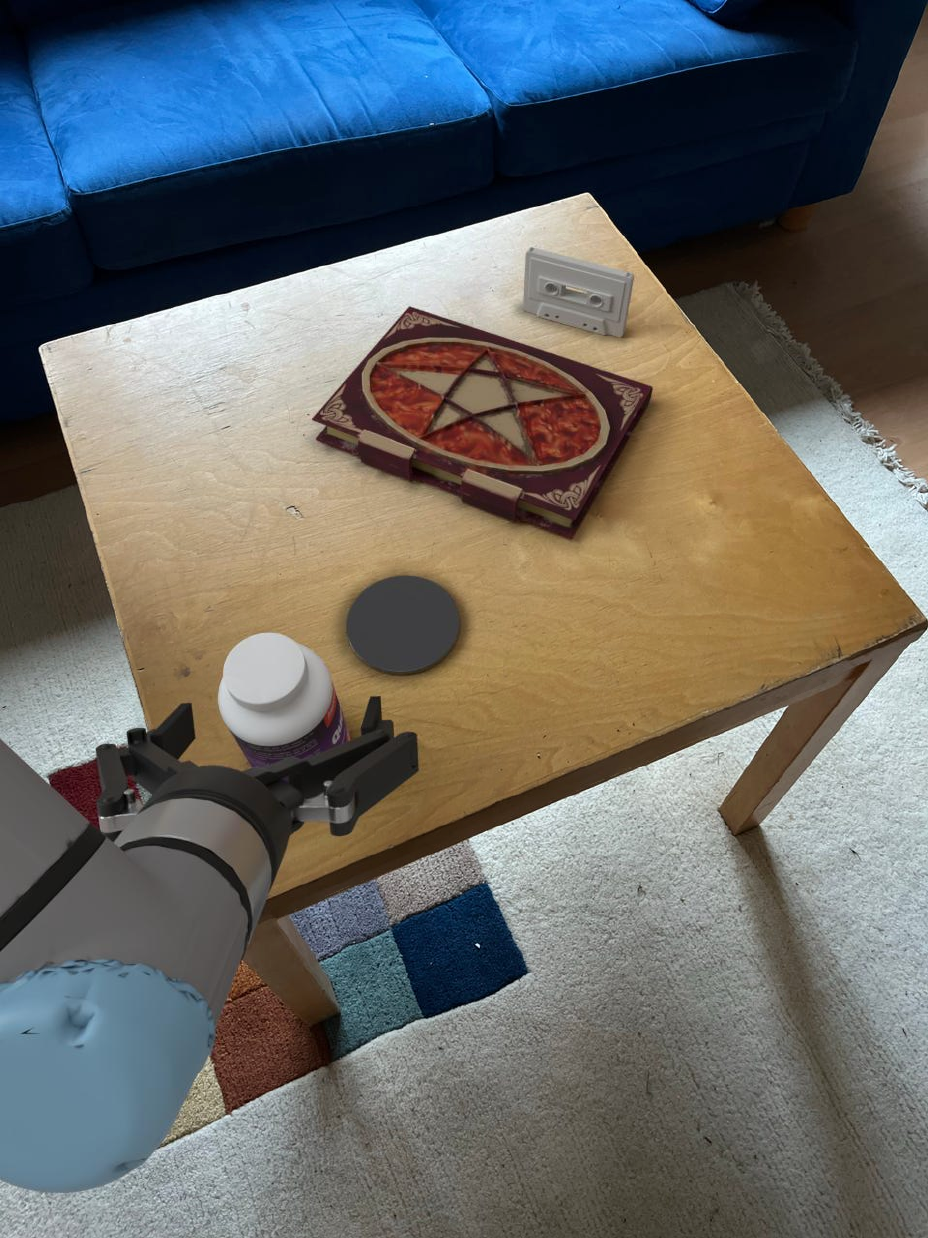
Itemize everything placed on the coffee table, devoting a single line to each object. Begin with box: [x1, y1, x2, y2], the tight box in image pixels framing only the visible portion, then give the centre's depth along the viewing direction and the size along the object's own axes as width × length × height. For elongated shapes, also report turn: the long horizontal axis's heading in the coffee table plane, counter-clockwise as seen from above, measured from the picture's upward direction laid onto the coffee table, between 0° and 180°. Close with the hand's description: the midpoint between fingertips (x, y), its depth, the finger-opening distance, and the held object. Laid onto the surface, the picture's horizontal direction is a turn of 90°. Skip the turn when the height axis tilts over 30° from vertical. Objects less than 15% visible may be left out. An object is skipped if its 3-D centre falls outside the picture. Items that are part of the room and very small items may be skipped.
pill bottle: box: [217, 632, 351, 783], centre depth 64 cm, size 8×8×14 cm
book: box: [311, 305, 654, 540], centre depth 87 cm, size 28×21×5 cm
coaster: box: [345, 574, 461, 676], centre depth 76 cm, size 10×10×1 cm
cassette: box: [522, 246, 635, 338], centre depth 94 cm, size 12×2×8 cm, turn 66°
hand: (282, 717), depth 62 cm, fingers open, 13 cm apart
